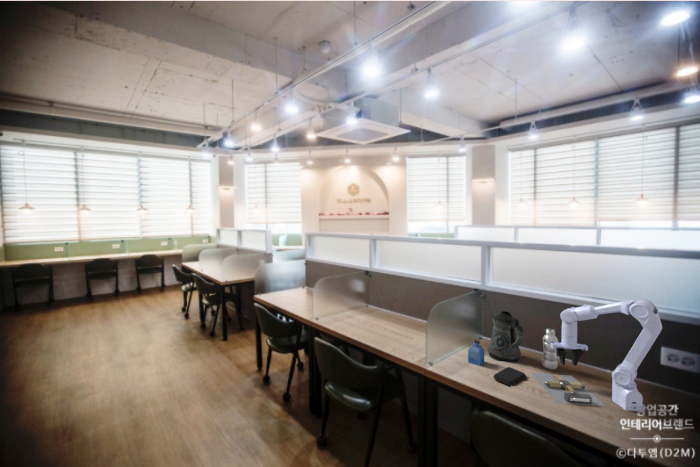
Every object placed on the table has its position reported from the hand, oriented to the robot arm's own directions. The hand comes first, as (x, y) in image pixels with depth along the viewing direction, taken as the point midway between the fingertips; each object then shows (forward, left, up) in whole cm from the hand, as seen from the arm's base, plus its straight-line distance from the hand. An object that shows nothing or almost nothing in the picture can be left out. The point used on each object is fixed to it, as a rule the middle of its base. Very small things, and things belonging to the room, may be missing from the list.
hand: (568, 364), depth 137 cm
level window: (-15, +4, -9) cm, 18 cm away
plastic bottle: (+15, +1, -10) cm, 18 cm away
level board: (-5, +4, -9) cm, 11 cm away
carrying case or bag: (+1, +24, -10) cm, 26 cm away
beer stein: (+25, +18, -10) cm, 32 cm away
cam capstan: (-5, +4, -9) cm, 11 cm away
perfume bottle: (+17, +36, -10) cm, 41 cm away
